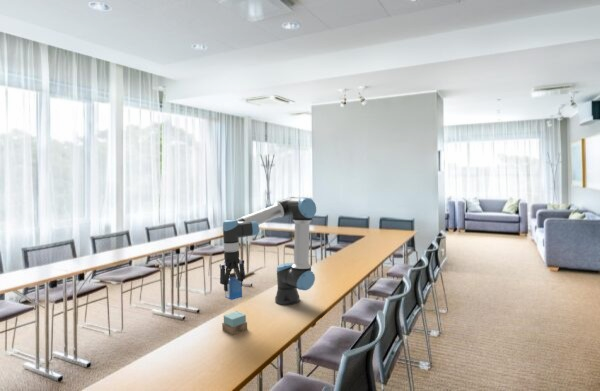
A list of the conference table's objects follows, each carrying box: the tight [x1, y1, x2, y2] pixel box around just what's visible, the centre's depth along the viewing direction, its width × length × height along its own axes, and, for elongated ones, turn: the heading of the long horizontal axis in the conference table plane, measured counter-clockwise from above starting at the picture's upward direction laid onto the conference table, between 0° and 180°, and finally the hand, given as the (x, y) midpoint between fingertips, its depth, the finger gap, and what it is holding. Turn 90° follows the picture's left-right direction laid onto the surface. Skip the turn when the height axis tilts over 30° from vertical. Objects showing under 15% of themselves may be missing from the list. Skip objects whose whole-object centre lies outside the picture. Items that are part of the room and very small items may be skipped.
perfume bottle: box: [224, 272, 243, 301], centre depth 186 cm, size 6×6×12 cm
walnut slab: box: [221, 321, 248, 336], centre depth 187 cm, size 9×9×4 cm
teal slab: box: [223, 310, 247, 327], centre depth 187 cm, size 8×8×4 cm
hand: (233, 295), depth 186 cm, fingers closed on perfume bottle, 6 cm apart
